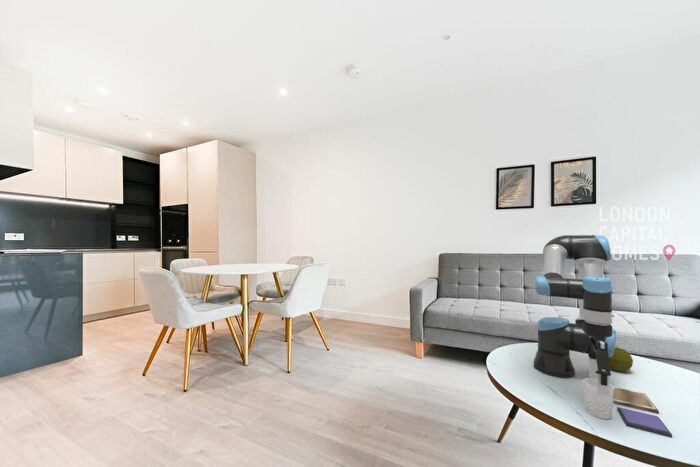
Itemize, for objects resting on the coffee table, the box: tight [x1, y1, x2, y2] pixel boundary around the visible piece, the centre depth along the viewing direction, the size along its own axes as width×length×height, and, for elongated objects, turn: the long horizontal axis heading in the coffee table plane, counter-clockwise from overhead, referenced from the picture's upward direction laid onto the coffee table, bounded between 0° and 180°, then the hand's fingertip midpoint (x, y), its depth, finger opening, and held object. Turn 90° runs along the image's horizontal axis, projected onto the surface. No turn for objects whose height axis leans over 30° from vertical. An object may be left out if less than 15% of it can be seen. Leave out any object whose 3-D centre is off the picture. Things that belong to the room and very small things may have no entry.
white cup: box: [582, 377, 615, 420], centre depth 96 cm, size 8×8×10 cm
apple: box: [609, 346, 634, 373], centre depth 128 cm, size 10×10×11 cm
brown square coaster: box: [613, 386, 660, 415], centre depth 104 cm, size 13×13×1 cm
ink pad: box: [616, 406, 673, 438], centre depth 91 cm, size 10×10×1 cm
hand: (598, 385), depth 96 cm, fingers open, 13 cm apart
